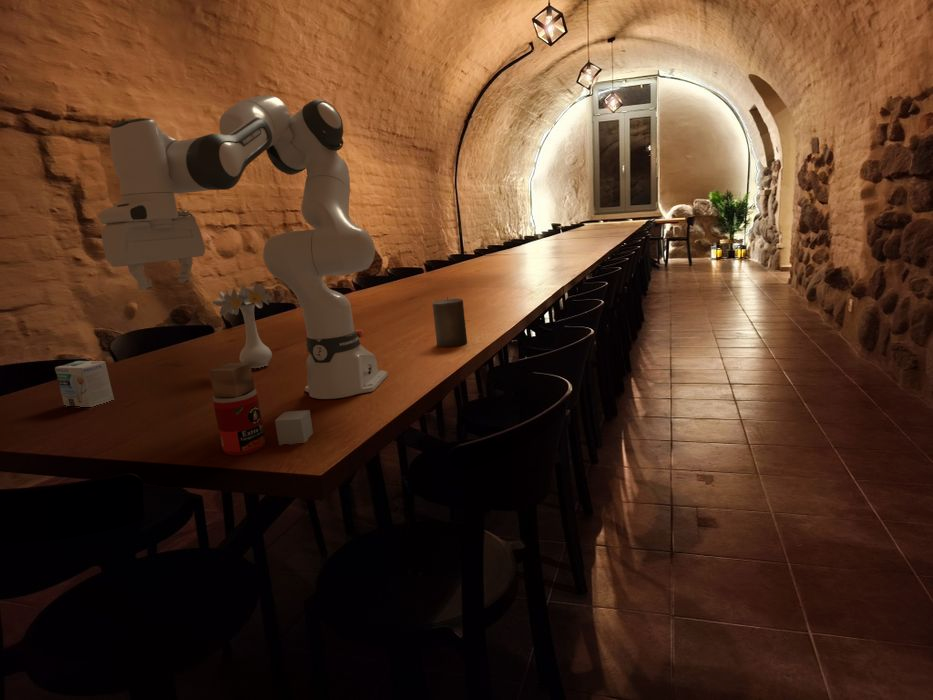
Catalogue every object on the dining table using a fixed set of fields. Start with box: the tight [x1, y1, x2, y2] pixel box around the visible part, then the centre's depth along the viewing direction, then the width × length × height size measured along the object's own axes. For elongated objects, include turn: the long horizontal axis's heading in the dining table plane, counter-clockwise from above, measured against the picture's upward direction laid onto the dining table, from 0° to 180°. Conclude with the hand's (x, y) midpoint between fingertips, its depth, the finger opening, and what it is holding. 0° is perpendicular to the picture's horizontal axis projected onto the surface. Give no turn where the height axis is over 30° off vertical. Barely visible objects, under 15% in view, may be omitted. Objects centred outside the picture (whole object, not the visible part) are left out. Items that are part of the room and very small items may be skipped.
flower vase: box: [212, 283, 273, 369], centre depth 173 cm, size 13×18×25 cm
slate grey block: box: [274, 409, 314, 446], centre depth 112 cm, size 5×5×5 cm
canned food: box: [212, 388, 266, 457], centre depth 109 cm, size 8×8×11 cm
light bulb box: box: [54, 360, 115, 408], centre depth 151 cm, size 11×7×11 cm, turn 68°
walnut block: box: [208, 362, 256, 397], centre depth 107 cm, size 5×5×5 cm
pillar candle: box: [432, 296, 468, 348], centre depth 182 cm, size 10×10×15 cm
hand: (166, 285), depth 110 cm, fingers open, 8 cm apart
